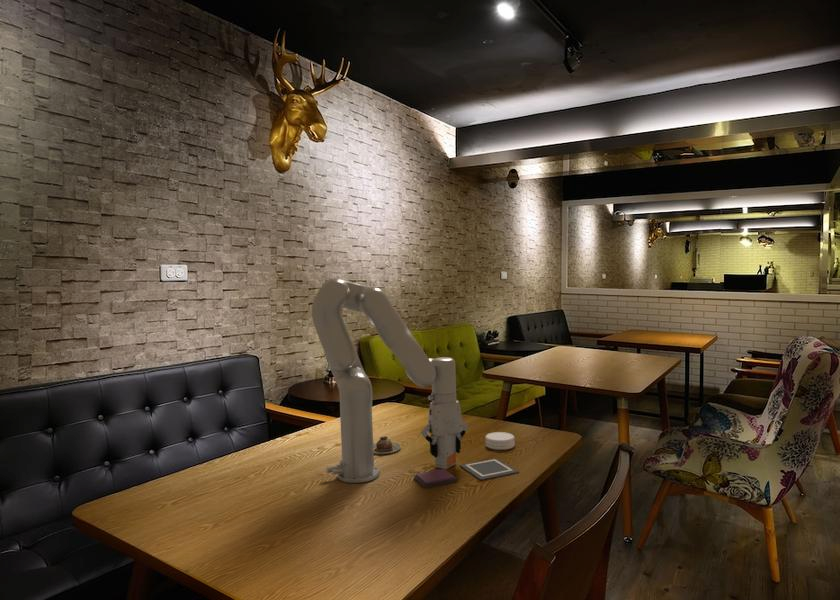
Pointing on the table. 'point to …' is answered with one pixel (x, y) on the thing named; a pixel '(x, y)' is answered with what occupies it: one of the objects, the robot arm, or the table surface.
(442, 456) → the skincare box
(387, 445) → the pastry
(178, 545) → the table surface
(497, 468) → the mat
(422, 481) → the ink pad
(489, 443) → the white round disc
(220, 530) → the table surface
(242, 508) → the table surface
